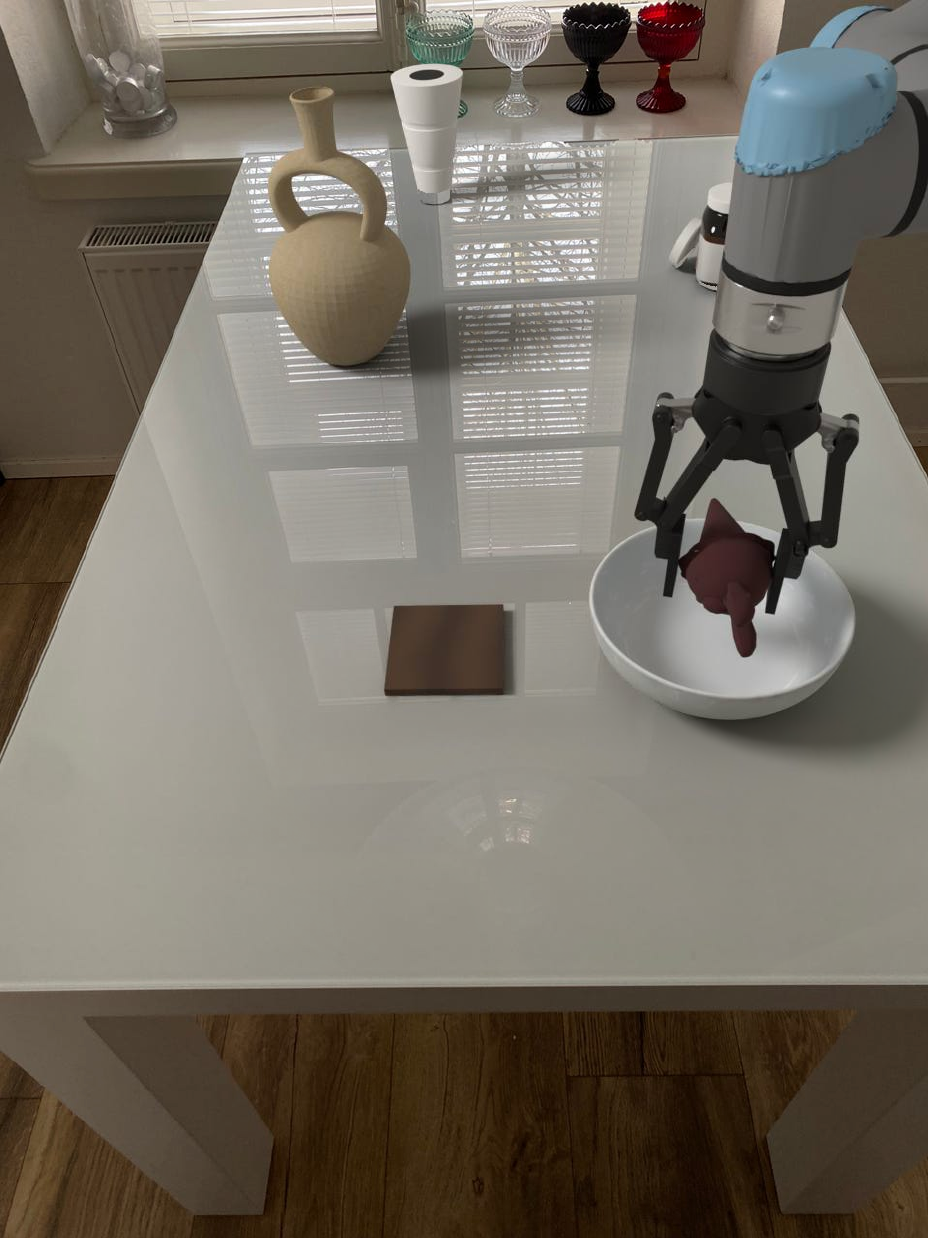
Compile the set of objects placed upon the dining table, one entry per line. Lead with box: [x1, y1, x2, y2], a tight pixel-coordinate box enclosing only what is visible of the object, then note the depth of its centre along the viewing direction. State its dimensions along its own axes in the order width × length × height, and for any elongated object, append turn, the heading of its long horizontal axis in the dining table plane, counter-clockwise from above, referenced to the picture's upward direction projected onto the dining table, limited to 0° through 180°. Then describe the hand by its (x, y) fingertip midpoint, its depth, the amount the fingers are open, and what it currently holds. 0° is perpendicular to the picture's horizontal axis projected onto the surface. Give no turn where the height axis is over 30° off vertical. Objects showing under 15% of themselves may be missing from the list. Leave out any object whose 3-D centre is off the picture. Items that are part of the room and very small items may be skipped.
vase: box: [267, 86, 412, 367], centre depth 110 cm, size 17×17×30 cm
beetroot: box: [678, 497, 776, 658], centre depth 75 cm, size 7×7×15 cm
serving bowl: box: [588, 517, 857, 721], centre depth 80 cm, size 21×21×7 cm
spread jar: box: [667, 181, 733, 287], centre depth 126 cm, size 12×11×12 cm
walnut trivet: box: [383, 603, 505, 696], centre depth 84 cm, size 10×10×1 cm
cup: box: [390, 63, 464, 193], centre depth 147 cm, size 11×11×18 cm
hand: (719, 593), depth 77 cm, fingers closed on beetroot, 7 cm apart
